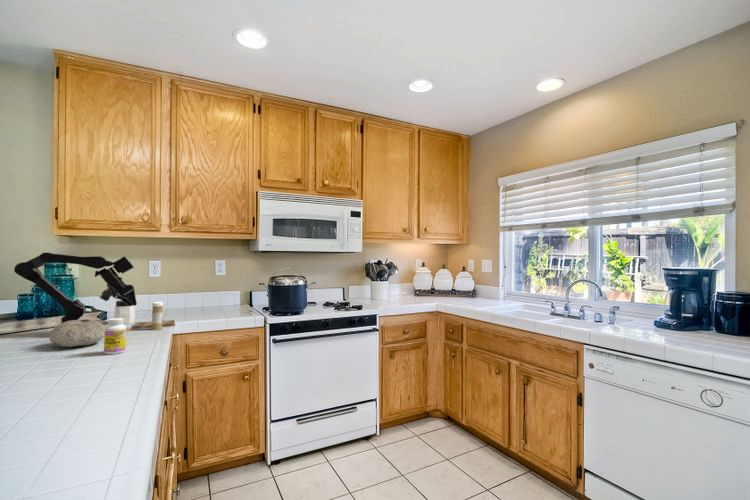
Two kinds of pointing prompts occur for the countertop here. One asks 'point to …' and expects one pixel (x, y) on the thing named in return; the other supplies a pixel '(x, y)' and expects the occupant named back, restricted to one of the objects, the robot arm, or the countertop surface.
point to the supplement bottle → (115, 337)
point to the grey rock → (77, 333)
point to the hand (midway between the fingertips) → (133, 305)
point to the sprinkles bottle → (157, 315)
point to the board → (149, 324)
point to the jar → (125, 312)
